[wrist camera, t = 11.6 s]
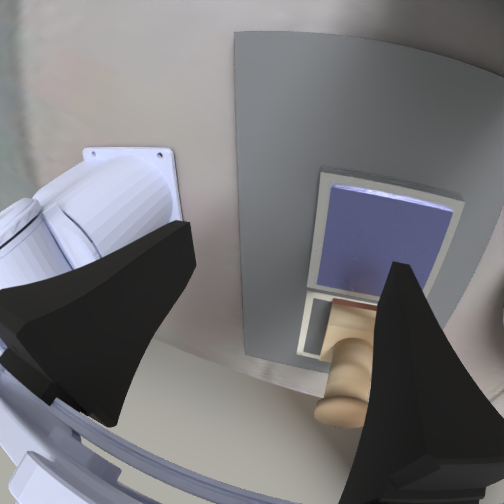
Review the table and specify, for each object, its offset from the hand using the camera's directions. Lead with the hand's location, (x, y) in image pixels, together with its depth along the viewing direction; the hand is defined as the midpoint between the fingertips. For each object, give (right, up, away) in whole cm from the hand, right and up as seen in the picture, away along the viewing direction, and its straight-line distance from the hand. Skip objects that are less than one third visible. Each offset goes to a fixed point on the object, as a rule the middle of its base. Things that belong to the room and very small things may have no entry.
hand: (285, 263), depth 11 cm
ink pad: (+7, +1, +9) cm, 12 cm away
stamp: (+8, -6, +14) cm, 17 cm away
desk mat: (+7, 0, +11) cm, 13 cm away
